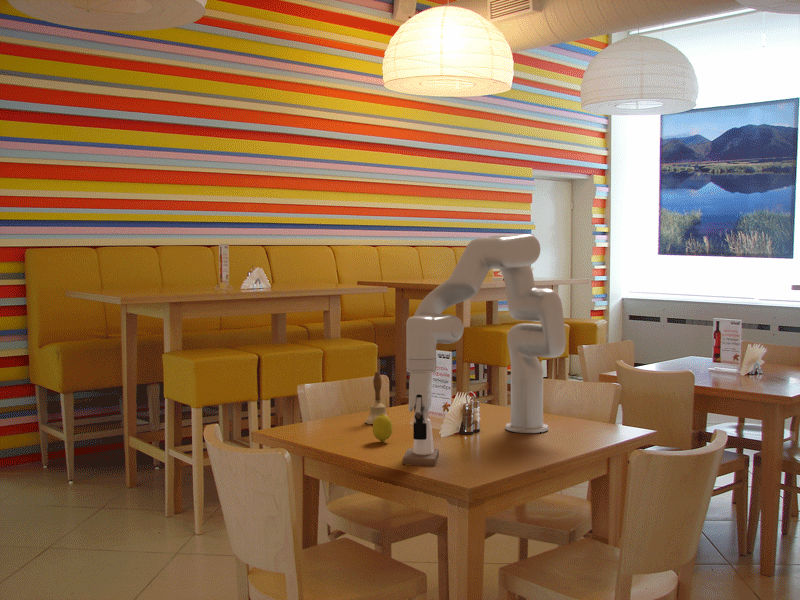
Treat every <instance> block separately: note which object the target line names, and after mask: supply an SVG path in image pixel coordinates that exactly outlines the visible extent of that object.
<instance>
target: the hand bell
mask: <svg viewBox="0 0 800 600" xmlns="http://www.w3.org/2000/svg"><path fill="white" fill-rule="evenodd" d="M372 383H373V388H374V393H375V394H374V395H375V396H374V398H375V399H374V400H375V401H374V403H372V404H371V406H370V411H369V415H368V417H367V418H366V419H365V420H364V424H366V423H367V424H366V425H370V424H373V422H374V420H375V418H376V417H377V416H379V415H381V414H384V415H386V416H387V417H389V416H388V414H387V412H386V406H385V404H383V403H382V402H381V400H382V399H381V389H382V383H383V382H382V377H381V374H380V372H379V371H375V372H374V376H373V381H372Z"/></svg>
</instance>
